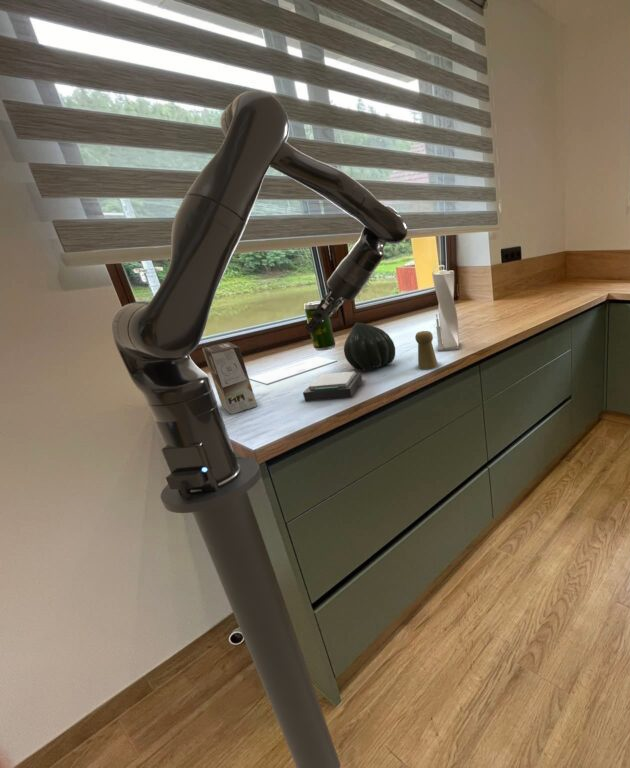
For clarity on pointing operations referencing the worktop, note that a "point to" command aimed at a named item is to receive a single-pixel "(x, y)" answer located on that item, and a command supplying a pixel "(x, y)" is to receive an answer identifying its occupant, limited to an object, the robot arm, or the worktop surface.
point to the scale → (333, 386)
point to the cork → (425, 350)
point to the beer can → (320, 329)
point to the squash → (368, 347)
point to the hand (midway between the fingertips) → (313, 327)
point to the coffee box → (230, 377)
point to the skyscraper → (446, 310)
